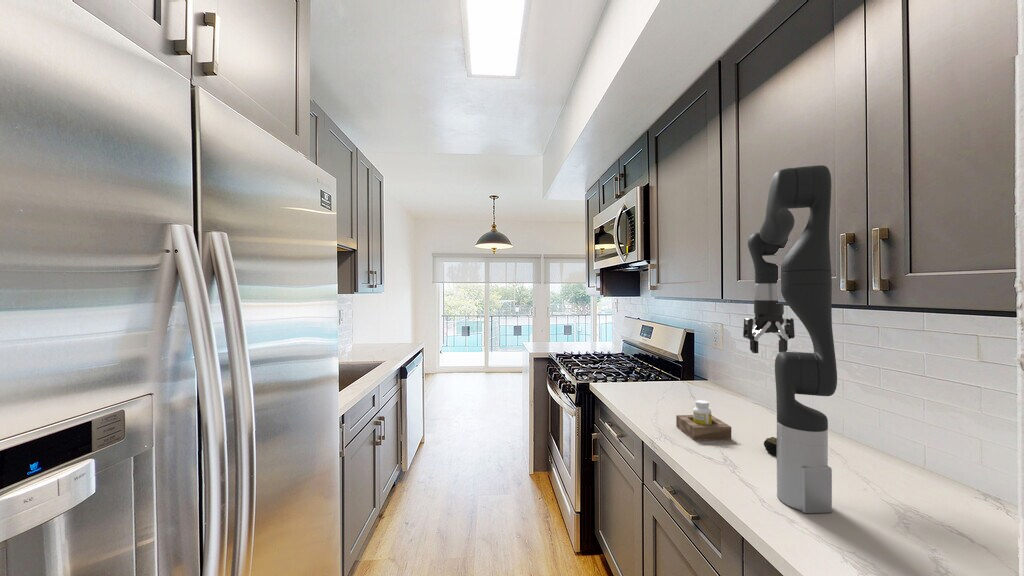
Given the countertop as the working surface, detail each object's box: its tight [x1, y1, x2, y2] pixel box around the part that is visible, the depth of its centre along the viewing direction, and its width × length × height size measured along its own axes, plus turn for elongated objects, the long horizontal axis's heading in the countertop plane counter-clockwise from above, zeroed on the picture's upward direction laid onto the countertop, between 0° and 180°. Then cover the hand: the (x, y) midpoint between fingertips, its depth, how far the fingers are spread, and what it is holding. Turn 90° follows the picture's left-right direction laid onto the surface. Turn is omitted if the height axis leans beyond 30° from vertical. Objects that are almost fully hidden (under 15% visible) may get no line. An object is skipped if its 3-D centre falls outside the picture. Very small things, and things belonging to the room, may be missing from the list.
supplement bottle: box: [692, 399, 712, 425], centre depth 131 cm, size 5×5×10 cm
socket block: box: [675, 414, 732, 441], centre depth 131 cm, size 12×12×4 cm
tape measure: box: [763, 436, 777, 456], centre depth 115 cm, size 7×7×4 cm
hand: (768, 352), depth 119 cm, fingers open, 8 cm apart
